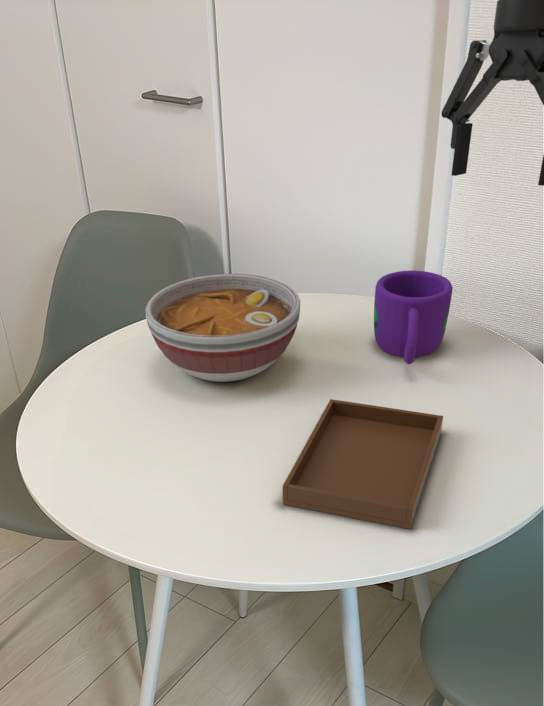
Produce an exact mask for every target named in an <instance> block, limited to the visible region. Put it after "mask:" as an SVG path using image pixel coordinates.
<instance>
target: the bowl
mask: <svg viewBox="0 0 544 706" xmlns="http://www.w3.org/2000/svg"><path fill="white" fill-rule="evenodd" d="M300 314H301V299H300V297H299V295H298V293H297V292H296V291H295V290H294V289H293V288H292V287H290V286H289V285H287V284H286V283H284V282H281V281H280V280H277V279H273V278H270V277H266V276H261V275H254V274H246V273H217V274H208V275H202V276H201V275H200V276H196V277H191V278H188V279H184V280H180V281H178V282H175V283H173V284H170V285H168V286H166V287H164V288H162V289H160V290H159V291H157V292H156V293H155V294H154V295H153V296H152V297H151V298H150V299H149V300H148V302H147V305H146V307H145V318H146V323H147V327H148V329H149V331H150V334H151V337H152V338H153V341H154V343H155V344H156V346H157V347H158V349H159V350H160V351H161V353H162V354H163V355H164V357H165V358H166V359H167V360H169V361H170V362H171V363H172V364H173V365H174V366H176V367H177V368H178V369H179V370H180V371H182V372H183V373H185V374H187V375H190V376H192V377H195V378H198V379H200V380H204V381H208V382H216V383H230V382H237V381H242V380H246V379H249V378H251V377H253V376H256V375H257V374H258V375H259V374H260V373H262V372H263V371H265V370H267V369H268V368H269V367H271V366H272V365H273V364H274V363H275V362H276V361H277V360H278V359H279V358H280V357H281V356H282V355H283V354H284V353H285V351H286V350H287V348H288V346H289V344H290V343H291V341H292V339H293V338H294V335H295V333H296V330H297V327H298V322H299V321H300Z"/></svg>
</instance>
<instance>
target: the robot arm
mask: <svg viewBox="0 0 544 706" xmlns="http://www.w3.org/2000/svg"><path fill="white" fill-rule="evenodd" d="M488 57H490V60H491V62H492V63H491V64H490V65H489V67H488V68H487V69H486V70H485V72H484V73H483V74H482V78H481V79H480V81H478V83H477V84H476V85H475V87H474V88H473V89H472V86H473V84H475V83H474V82H475V81H476V79H477V76H478V74H479V73H480V72H481V69H482V67H483V65H484V61H485V60H486V59H487V58H488ZM502 81H505V82H507V81H517V82H525V81H529V83H530V84H531V85H532V86H533V87H534V90H535V91H536V93H537V95H538V97H539V99H540V101H541V103H542V105H543V106H544V0H497V1H496V8H495V14H494V21H493V38H492V40H491V42H488V41H487V40H486V39H480V40H479V39H478V40H472V41H471V42H470V44H469V49H468V53H467V57H466V62H465V63H464V65H463V68H462V69H461V72H460V73H459V76H458V77H457V79H456V81H455V84H454V85H453V88H452V89H451V92H450V94H449V95H448V98H447V100H446V102H445V104H444V106H443V107H442V111H441V113H440V114H441V117H442V118H443V119H447V120H449V121H450V122H451V124H452V129H451V137H450V149H452V150H454V151H453V159H452V167H451V176H454V177H457V176H461V175H465V174H467V171H468V162H469V155H470V148H471V147H470V146H471V139H472V132H473V126H474V125H473V122H470V121H471V120H470V119H471V117H472V116H473V115H474V114H475V112H476V110H477V109H478V108H479V107H480V106H481V104H482V103H483V102H484V101H485V100H486V98H487V97H488V96H489V95H490V94H491V92H492V91H493V90H494V89H495V87H496V86H497V85H498V84H499V83H501V82H502ZM471 89H472V91H471V92H470V90H471ZM469 92H470V93H469ZM537 186H541V187H542V186H544V154H543V155H542V161H541V166H540V173H539V177H538V183H537Z"/></svg>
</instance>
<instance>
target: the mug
mask: <svg viewBox="0 0 544 706" xmlns="http://www.w3.org/2000/svg"><path fill="white" fill-rule="evenodd" d="M452 296H453V285H452V282H451V281H450V280H449V279H448V278H447V277H445V276H443V275H441V274H438V273H435V272H430V271H425V270H415V269H414V270H400V271H399V270H398V271H394V272H390V273H387V274H385V275H382V276H381V277H380V278H379V279H378V280H377V281H376V284H375V290H374V303H373V307H374V308H373V332H374V333H373V334H374V339H375V340H374V341H375V343H376V345H377V346H378V347H379V349H380V350H382V351H383V352H385V353H387V354H389V355H392V356H395V357H399V358H404V359H403V360H404V362H405V364H408V365H412V364H413V363H414V362H415V358H418V357H424V356H428V355H431V353H434V352H435V351H437V350H438V349H439V347H440V346H441V344H442V342H443V340H444V336H445V332H446V328H447V323H448V319H449V314H450V308H451V302H452Z"/></svg>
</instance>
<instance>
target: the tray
mask: <svg viewBox="0 0 544 706" xmlns="http://www.w3.org/2000/svg"><path fill="white" fill-rule="evenodd" d="M443 422H444V415H438V414H434V413H426V412H421V411H412V410H408V409H407V410H406V409H400V408H393V407H386V406H379V405H374V404H373V405H372V404H365V403H359V402H352V401H347V400H339V399H332V398H330V399H329V400H328V403H327V404H326V406H325V408H324V410H323V412H322V413H321V415H320V417H319V418H318V421H317V423H316V424H315V427H314V428H313V429H312V432H311V434H310V435H309V437H308V439H307V441H306V442H305V445H304V446H303V448H302V450H301V452H300V453H299V455H298V456H297V459H296V461H295V463H294V464H293V466H292V468H291V470H290V472H289V473H288V475H287V477H286V479H285V481H284V483H283V484H282V505H284V506H288V507H289V506H290V507H293V508H298V509H299V508H300V509H303V510H304V509H306V510H309V511H315V512H321V513H325V514H331V515H335V516H341V517H346V518H351V519H355V520H356V519H357V520H361V521H366V522H371V523H375V524H382V525H386V526H392V527H397V528H401V529H406V530H411V528H412V525H413V522H414V518H415V516H416V512H417V509H418V506H419V504H420V499H421V497H422V493H423V490H424V488H425V484H426V480H427V478H428V475H429V471H430V469H431V467H432V466H431V465H432V463H433V459H434V457H435V454H436V449H437V447H438V445H439V440H440V437H441V434H442V428H443Z"/></svg>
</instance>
